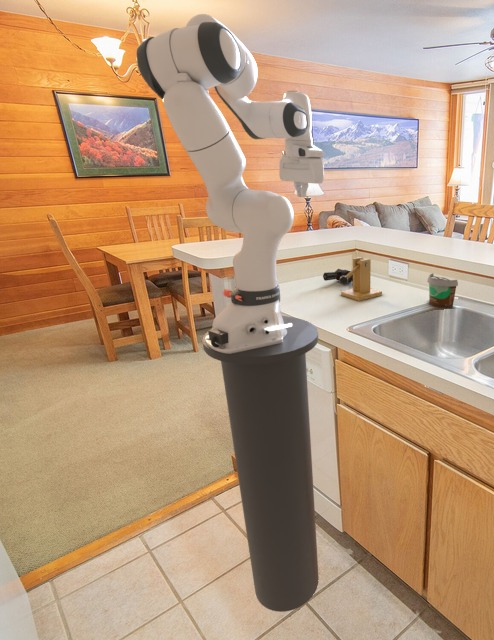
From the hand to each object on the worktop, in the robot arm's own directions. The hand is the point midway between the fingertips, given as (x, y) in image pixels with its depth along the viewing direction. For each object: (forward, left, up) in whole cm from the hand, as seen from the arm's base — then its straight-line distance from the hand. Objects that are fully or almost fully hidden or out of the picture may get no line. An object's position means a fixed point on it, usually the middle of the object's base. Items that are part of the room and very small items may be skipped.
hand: (301, 196), depth 146 cm
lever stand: (+18, -10, -35) cm, 41 cm away
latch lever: (+14, -10, -27) cm, 32 cm away
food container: (+30, -37, -35) cm, 59 cm away
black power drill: (+26, +6, -35) cm, 44 cm away
